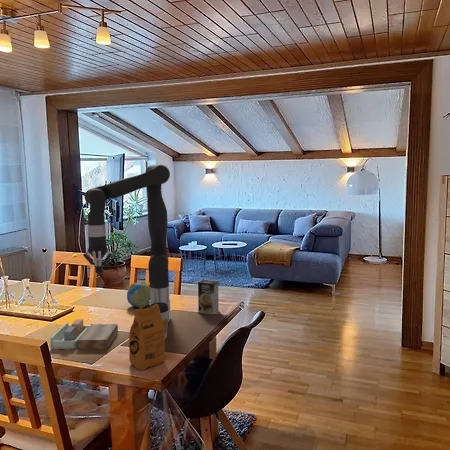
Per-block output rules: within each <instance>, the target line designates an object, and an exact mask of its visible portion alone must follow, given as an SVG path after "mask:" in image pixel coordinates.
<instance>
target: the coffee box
mask: <svg viewBox="0 0 450 450" xmlns="http://www.w3.org/2000/svg"><path fill="white" fill-rule="evenodd" d="M219 286H220V285H219V281H218V280H217V281H216V280H208V279H202V280H200V281H198V283H197V293H198V294H197V295H198V298H197V299H198V302H197V303H198V304H197V305H198V307H197V308H198V314H204V315H213V316H215V315H216V314H217V313H218V312H219V309H220V308H219V304H220V303H219V297H220V295H219ZM214 314H215V315H214Z"/></svg>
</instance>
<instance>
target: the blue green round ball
mask: <svg viewBox="0 0 450 450" xmlns="http://www.w3.org/2000/svg"><path fill="white" fill-rule="evenodd" d="M126 300H127V302H128V304H130V305H131V306H132V307H133V308H134V307H135V308H138V309H144V308H145V307H146V306H148V305H149V306H150V285H149V284H147V282H146V281H142V282H140V281H139V282H133V283H131V284H130V285H129V287H128V290H127V293H126Z"/></svg>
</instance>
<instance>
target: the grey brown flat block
mask: <svg viewBox="0 0 450 450" xmlns="http://www.w3.org/2000/svg"><path fill="white" fill-rule="evenodd" d="M118 325H119V324H117V323H103V324H102V323H101V324H99V323H98V324H97V323H95V324H92V323H91V324H90V325H89V327H88V328H87V330H86V331H85V332H84V333H83V334H82V335H81V336H80V338H79V339H78V340H77V344H78V347H77V350H107V349H108V348H109V347H110V346H111V344H112V343H113V341H114V339H115V338H116V336H117V334H118V333H119V329H118V328H119V327H118Z"/></svg>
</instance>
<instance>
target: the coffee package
mask: <svg viewBox="0 0 450 450" xmlns="http://www.w3.org/2000/svg"><path fill="white" fill-rule="evenodd" d="M149 307H150V306H149ZM133 314H134V317H133V321H132V325H131V327H130V330H129V333H128V335H129V336H128V347H129V355H128V356H129V360H128V361H129V362H130V364H131V366H134V367H135V368H136V369H137V370H139V371H144V370H146V369H147V368H150V367H156V365H157V366H158V365H160V364H162V363H163V362H165V360H166V352H165V351H166V349H165V340H166V339H165V340H164V325H163V320H162V316H161V314H160V309H159V306H158V304H155V305H153V306H152V307H150V308H143V309H140V308H138V309H133Z"/></svg>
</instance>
